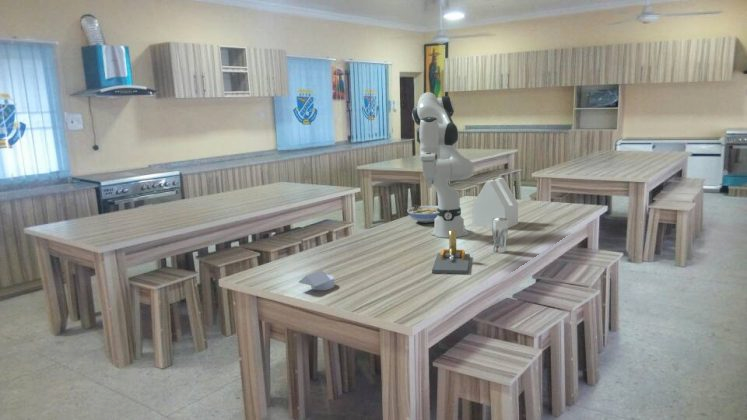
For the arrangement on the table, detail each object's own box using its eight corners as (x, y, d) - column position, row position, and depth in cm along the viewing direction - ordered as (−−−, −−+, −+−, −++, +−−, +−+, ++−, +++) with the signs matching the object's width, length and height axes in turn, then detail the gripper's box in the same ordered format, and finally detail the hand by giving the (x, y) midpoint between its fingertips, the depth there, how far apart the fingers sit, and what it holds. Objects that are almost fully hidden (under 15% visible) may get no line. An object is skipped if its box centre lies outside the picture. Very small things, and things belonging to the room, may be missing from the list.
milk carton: (517, 224, 299) (518, 178, 294) (504, 229, 287) (504, 182, 282) (486, 220, 311) (486, 176, 306) (472, 225, 299) (472, 180, 295)
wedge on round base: (315, 295, 201) (339, 285, 211) (314, 277, 200) (338, 268, 210) (298, 290, 207) (322, 281, 217) (297, 273, 206) (321, 264, 216)
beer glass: (496, 254, 243) (496, 221, 240) (489, 250, 249) (489, 218, 246) (510, 252, 245) (510, 219, 242) (503, 248, 251) (503, 216, 248)
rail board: (437, 256, 243) (437, 249, 243) (469, 257, 240) (469, 249, 239) (432, 273, 220) (431, 264, 220) (467, 274, 217) (467, 265, 217)
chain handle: (446, 254, 240) (446, 229, 238) (460, 254, 239) (459, 229, 237) (444, 261, 229) (443, 236, 227) (458, 261, 228) (458, 236, 226)
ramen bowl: (445, 227, 299) (445, 212, 297) (404, 227, 303) (403, 212, 302) (448, 217, 323) (448, 203, 321) (410, 217, 327) (409, 204, 326)
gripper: (425, 152, 251) (426, 182, 253) (419, 157, 231) (420, 189, 234) (439, 152, 249) (440, 182, 252) (434, 157, 230) (435, 189, 232)
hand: (430, 185), depth 243 cm, fingers open, 8 cm apart
